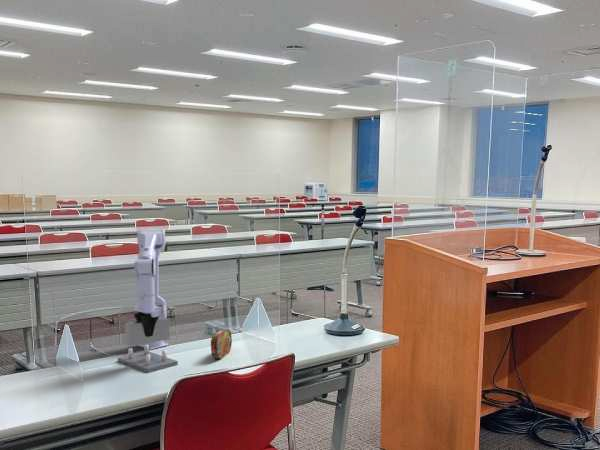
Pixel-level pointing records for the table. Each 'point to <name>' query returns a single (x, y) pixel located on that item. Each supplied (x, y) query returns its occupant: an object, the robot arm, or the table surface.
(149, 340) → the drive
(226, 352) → the tin
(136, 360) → the tray
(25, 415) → the table surface
